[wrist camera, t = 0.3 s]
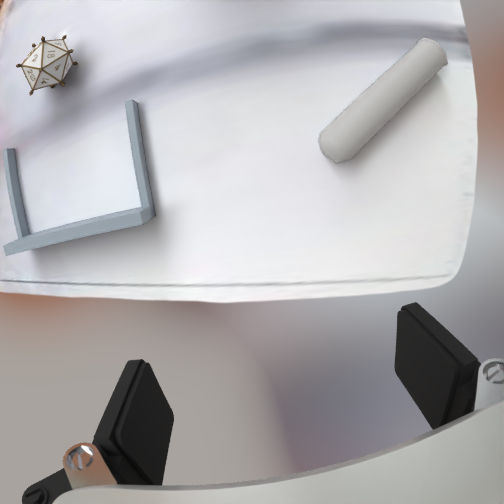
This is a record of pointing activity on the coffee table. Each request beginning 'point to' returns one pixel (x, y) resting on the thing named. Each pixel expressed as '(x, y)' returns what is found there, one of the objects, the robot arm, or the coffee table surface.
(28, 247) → the tray
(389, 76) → the tube
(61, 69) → the game die
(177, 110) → the coffee table surface
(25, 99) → the coffee table surface
